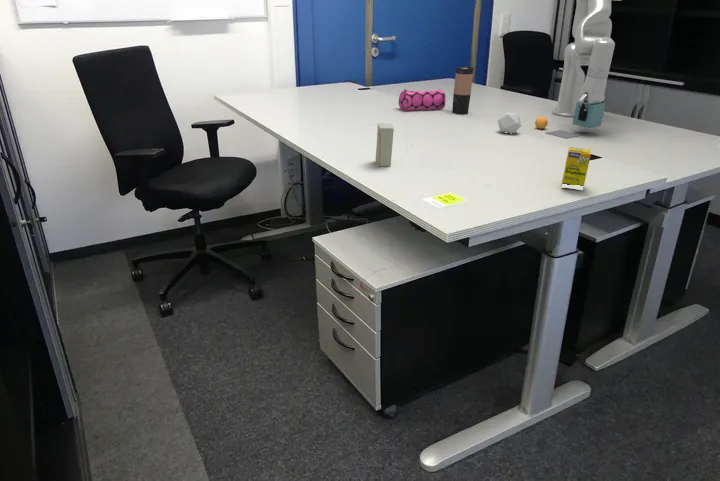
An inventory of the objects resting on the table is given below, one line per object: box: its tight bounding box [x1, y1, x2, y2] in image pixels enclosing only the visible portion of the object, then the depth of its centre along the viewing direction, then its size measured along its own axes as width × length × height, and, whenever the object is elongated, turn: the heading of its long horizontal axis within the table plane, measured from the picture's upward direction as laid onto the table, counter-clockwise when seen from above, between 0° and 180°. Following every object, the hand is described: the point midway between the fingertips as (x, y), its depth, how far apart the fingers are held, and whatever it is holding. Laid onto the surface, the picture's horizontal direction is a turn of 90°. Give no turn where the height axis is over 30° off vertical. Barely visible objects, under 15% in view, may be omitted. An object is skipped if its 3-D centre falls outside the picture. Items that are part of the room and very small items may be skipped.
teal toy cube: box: [572, 102, 606, 129], centre depth 216 cm, size 8×8×9 cm
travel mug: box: [451, 66, 474, 115], centre depth 245 cm, size 8×8×20 cm
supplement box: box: [561, 146, 592, 186], centre depth 154 cm, size 6×6×11 cm
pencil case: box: [398, 88, 446, 112], centre depth 251 cm, size 21×10×10 cm, turn 112°
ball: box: [534, 115, 549, 130], centre depth 223 cm, size 5×5×5 cm
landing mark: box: [545, 129, 582, 139], centre depth 217 cm, size 10×10×1 cm
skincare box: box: [375, 122, 395, 167], centre depth 169 cm, size 6×4×12 cm
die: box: [497, 111, 522, 134], centre depth 214 cm, size 8×9×10 cm
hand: (587, 118), depth 217 cm, fingers closed on teal toy cube, 7 cm apart
